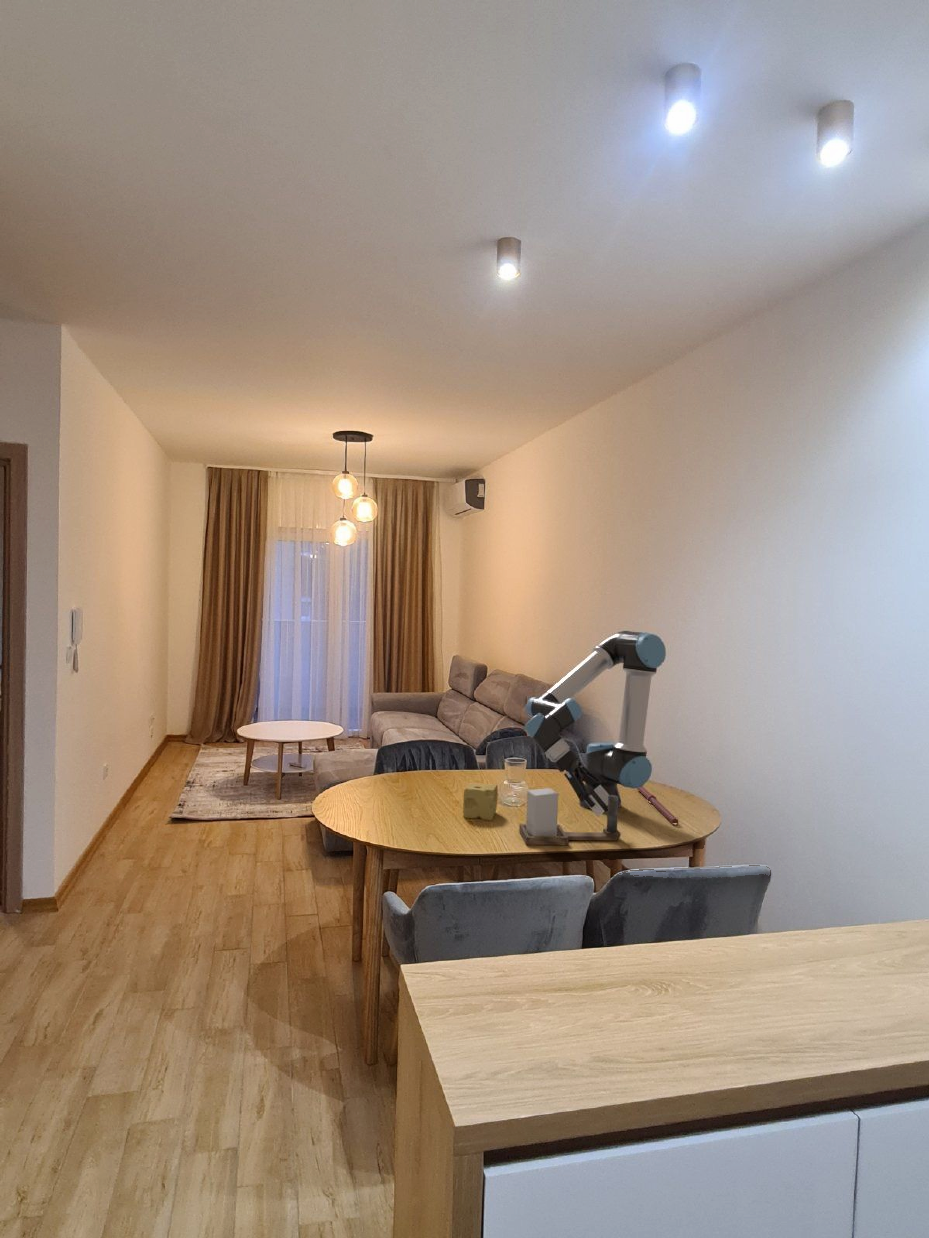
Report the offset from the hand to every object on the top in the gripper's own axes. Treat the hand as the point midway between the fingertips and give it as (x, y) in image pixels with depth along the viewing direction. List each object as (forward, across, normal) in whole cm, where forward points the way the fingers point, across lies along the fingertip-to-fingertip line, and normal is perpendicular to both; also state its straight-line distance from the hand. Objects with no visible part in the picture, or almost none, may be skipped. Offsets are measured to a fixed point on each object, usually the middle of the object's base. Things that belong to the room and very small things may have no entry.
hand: (606, 808), depth 245 cm
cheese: (-24, -4, -38) cm, 46 cm away
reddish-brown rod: (+14, -46, -1) cm, 48 cm away
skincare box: (-6, +12, -19) cm, 23 cm away
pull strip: (0, +6, -13) cm, 15 cm away
